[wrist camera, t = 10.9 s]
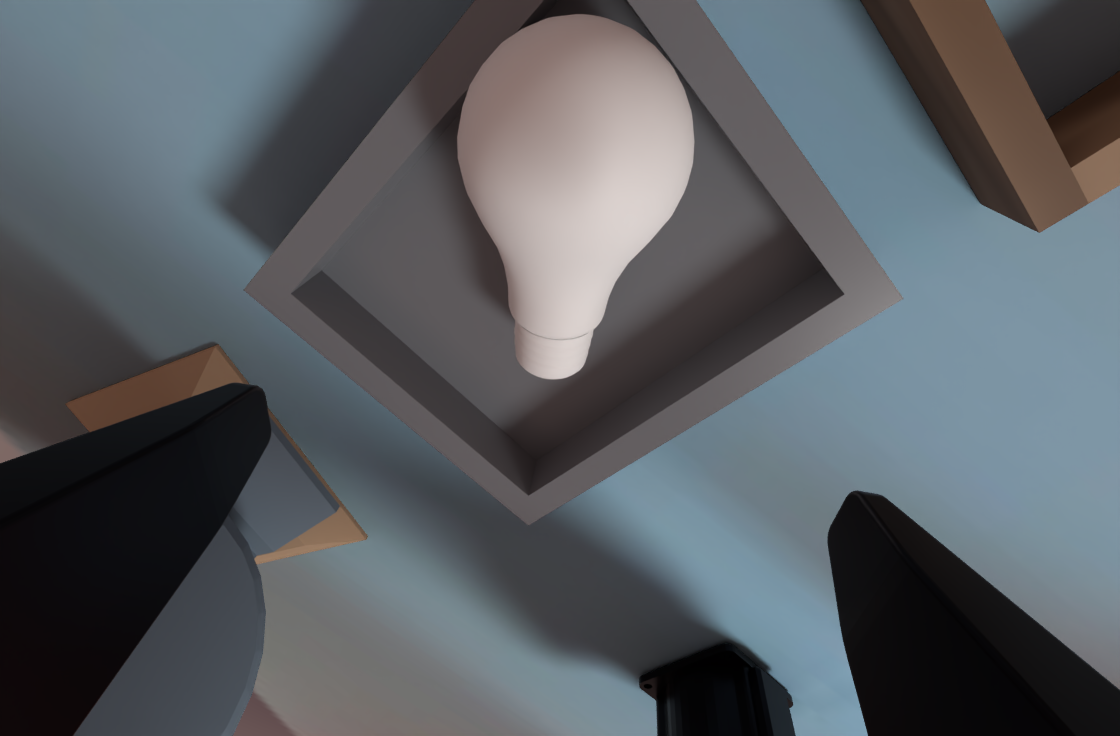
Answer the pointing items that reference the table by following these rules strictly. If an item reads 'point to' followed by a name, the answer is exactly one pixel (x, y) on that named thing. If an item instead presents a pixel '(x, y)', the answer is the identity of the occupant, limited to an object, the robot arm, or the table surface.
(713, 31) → the tray
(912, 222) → the table surface
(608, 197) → the lightbulb
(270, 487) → the alarm clock
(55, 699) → the robot arm
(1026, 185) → the socket block
